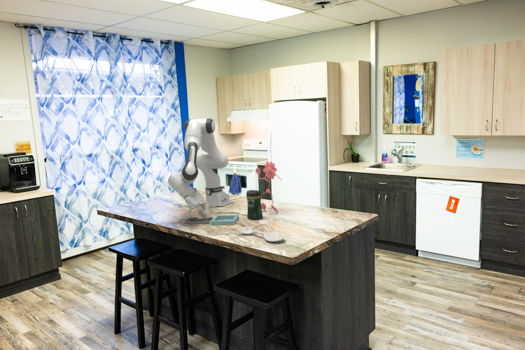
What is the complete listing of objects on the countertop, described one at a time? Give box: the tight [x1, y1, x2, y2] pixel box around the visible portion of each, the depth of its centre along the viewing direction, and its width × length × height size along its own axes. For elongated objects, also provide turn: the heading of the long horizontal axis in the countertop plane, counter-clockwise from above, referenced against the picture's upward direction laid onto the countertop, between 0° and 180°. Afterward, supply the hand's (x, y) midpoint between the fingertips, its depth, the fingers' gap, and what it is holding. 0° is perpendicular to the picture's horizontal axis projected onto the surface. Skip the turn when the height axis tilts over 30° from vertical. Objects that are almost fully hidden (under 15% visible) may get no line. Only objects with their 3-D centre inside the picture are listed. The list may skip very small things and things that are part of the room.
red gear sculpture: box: [255, 160, 282, 215], centre depth 279 cm, size 15×26×35 cm, turn 41°
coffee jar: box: [245, 189, 264, 220], centre depth 264 cm, size 10×8×19 cm
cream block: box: [197, 201, 211, 219], centre depth 261 cm, size 6×5×10 cm
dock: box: [209, 214, 240, 226], centre depth 260 cm, size 15×15×2 cm
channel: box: [181, 216, 215, 225], centre depth 263 cm, size 18×12×2 cm
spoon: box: [235, 225, 285, 243], centre depth 224 cm, size 9×32×4 cm, turn 44°
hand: (204, 208), depth 261 cm, fingers closed on cream block, 5 cm apart
